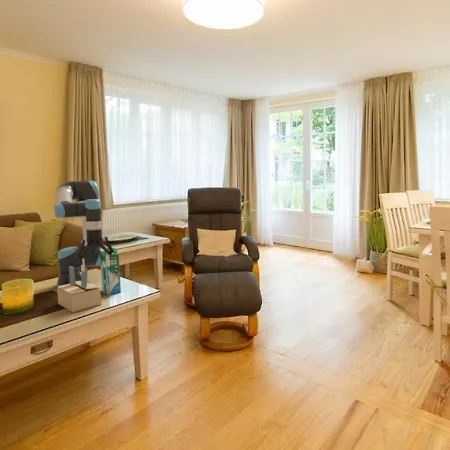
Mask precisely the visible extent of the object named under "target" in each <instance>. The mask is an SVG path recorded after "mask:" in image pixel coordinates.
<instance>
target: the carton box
mask: <svg viewBox="0 0 450 450" xmlns="http://www.w3.org/2000/svg"><path fill="white" fill-rule="evenodd" d="M76 286H77V287H79V288H81V289H83V290H85V291H84V292H80V293H76V294H72V295H71V294H69V293H67V292H65V291H64V290H62V289H60V288H58V287H56V288H57V289H56V291H57V292H56V293H57V302H58V305H59V306H61V307H63V308H64V309H66V310H67V311H69V312H70V313H72V314H74V313H77V312H81V311H85V310H89V309H91V308H95V307H98V306H101V305H102V299H101V296H102V295H101V288H100V287H99V288H93V289H85V288H83V287H81V286H79V285H76Z"/></svg>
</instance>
